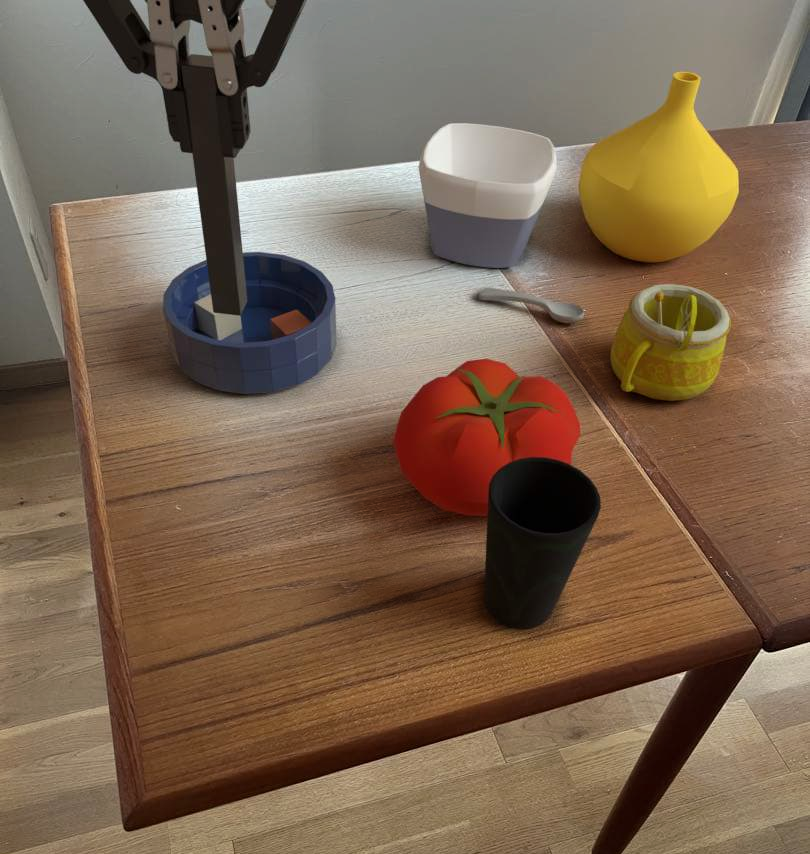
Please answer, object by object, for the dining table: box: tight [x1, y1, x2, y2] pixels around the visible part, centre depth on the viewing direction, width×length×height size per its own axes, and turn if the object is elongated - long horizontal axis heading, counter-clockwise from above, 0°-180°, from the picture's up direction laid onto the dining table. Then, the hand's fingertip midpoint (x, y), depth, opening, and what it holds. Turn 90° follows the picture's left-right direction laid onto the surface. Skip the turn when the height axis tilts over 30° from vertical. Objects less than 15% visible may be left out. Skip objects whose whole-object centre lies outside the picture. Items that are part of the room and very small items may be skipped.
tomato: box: [392, 358, 581, 516], centre depth 70 cm, size 14×16×10 cm
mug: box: [609, 283, 732, 402], centre depth 80 cm, size 13×11×12 cm
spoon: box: [478, 287, 585, 324], centre depth 91 cm, size 3×12×2 cm, turn 66°
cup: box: [483, 457, 602, 630], centre depth 60 cm, size 8×8×12 cm
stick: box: [181, 53, 247, 316], centre depth 53 cm, size 2×2×16 cm
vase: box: [577, 71, 740, 263], centre depth 96 cm, size 18×18×19 cm
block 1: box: [194, 294, 242, 340], centre depth 85 cm, size 3×3×3 cm
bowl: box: [418, 122, 558, 269], centre depth 97 cm, size 15×15×11 cm
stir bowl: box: [162, 251, 337, 395], centre depth 83 cm, size 17×17×6 cm
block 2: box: [270, 310, 311, 340], centre depth 83 cm, size 3×3×3 cm
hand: (212, 148), depth 51 cm, fingers closed on stick, 2 cm apart
